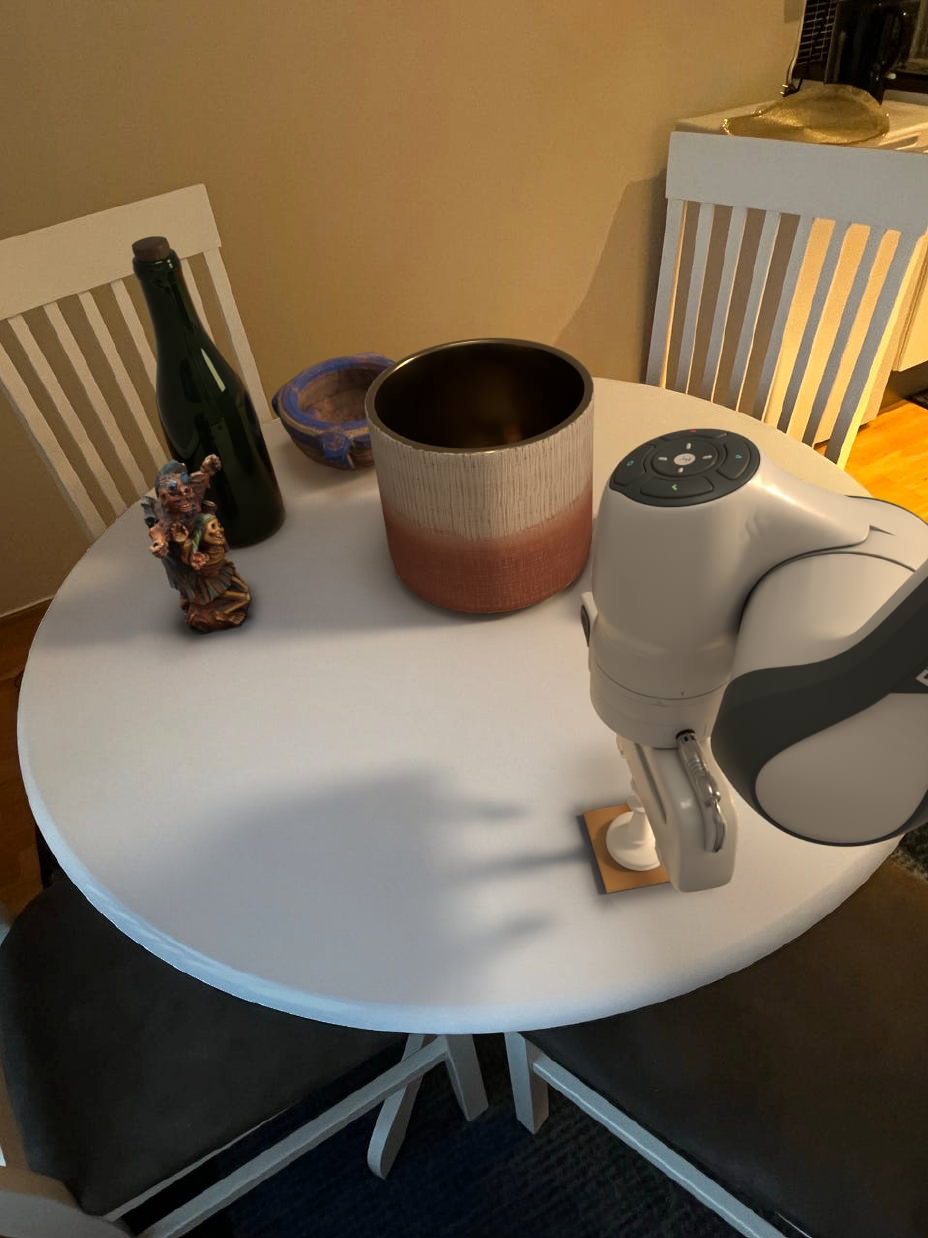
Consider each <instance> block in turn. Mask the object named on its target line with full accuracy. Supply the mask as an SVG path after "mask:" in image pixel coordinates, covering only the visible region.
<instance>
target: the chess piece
mask: <svg viewBox="0 0 928 1238" xmlns="http://www.w3.org/2000/svg"><path fill="white" fill-rule="evenodd" d="M630 788H631V790H632V792H631V794H630V795H629V796H628V798H627V804H628V805H629V807H630V809H631V810H632V812H627V813H624V814H621V815H620V816H618V817H617V818H615V819H614V820H613V822H612V823H611V824H610V826H609V829H608V831H607V835H606V845H607V849H608V851H609V853H610V855H611V856H612V857H613V859H614V860H615V861H616V862H618V863H619V864H620V865H622V866H624V867H626V868H628V869H632V870H637V871H646V870H651V869H654V868H656V867H658V866H659V865H660V863H659V860H658V857H657V854H656V851H655V837H654V835H653V832H652V829H651V826H650V824H649V821H648V818H647V815H646V813H645V810H644V807H643V804H642V802H641V799H640V796H639V793H638V791H637V788H636V785H635V782H634V780H633V777H632V776H631V779H630Z"/></svg>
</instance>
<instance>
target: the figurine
mask: <svg viewBox="0 0 928 1238" xmlns="http://www.w3.org/2000/svg"><path fill="white" fill-rule="evenodd" d="M200 469H201V471H198V472H195V473H192V474H191V475H190V476H189V477H188V474H187V469H186V465H184V463H182V464H181V463H178V462H177V461H175V460H174V459H172V458H171V459H170V460H169V461H168V460H166V463H164V464H162V468H159V471H158V473H156V476H155V481H154V492H155V495H156V498H155V497H152V496H149V495H143V496H142V497H141V501H140V507H141V508H143V512H144V518H143V521H144V524H145V525H146V526H147V530H148V537H149V538H150V539H151V541H152V544H151V545H150V546H149V548H148V550H149V551H150V552H151V554H152V555H153V557H154V558H157V559H159V560H160V562H161V564H162V565H163V568H165V573H166V576H167V579H168V583H169V586H170V588H171V589H173V590H176V592H177V591H178V592H179V600H180V604H179V607H180V609H181V611H182V612H183V613H184V617H185V620H184V623H186V624H187V626H188V628H189V629H190V630H191V631H192V632H193V633H194V634H197V635H205V634H208V633H212V632H214V631H226V630H227V631H228V630H231V629H236V628H240V627H242V626H243V623H245V621H246V620H247V618H248V617H247V614H248V611H249V605H250V602H251V600H252V599H253V598H252V595H250V593H251V592H250V589H249V586H248V585H247V582H246V581H245V579H244V578H243V577H242V576H241V574H240V573H239V572H238V571H237V568H236V566H235V564H234V561H233V560H232V559H230V558H226V554H227V553H229V552H230V546H228V544H227V542H226V539H225V537H224V529H223V527H220V523H218V519H217V518H216V515H215V513H216V509H217V508H216V507H217V506H216V504H214V503H213V502H209V501H205V500H204V501H203V498H204V492H205V490H206V489H207V488H208V489H209V488H210V485H209V477H211V476H213V475H214V474H215V473H216V472H217V470H219V471H220V469H221V461H220V460H219V458H218V457H217V456H215V455H214V454H213V455H210V456H208V457H206V459H205V461H204V462H203V463H202V466H201V468H200ZM202 501H203V502H202Z"/></svg>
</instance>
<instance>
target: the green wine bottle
mask: <svg viewBox="0 0 928 1238" xmlns="http://www.w3.org/2000/svg"><path fill="white" fill-rule="evenodd" d="M131 251H132V253H133V255H134V256H133V257H132V260H131V263H132V271H133V274H134V276H135V278H136V279H137V281H138V284H139V287H140V289H141V293H142V295H143V299H144V302H145V304H146V309H147V311H148V315H149V318H150V321H151V327H152V330H153V335H154V340H155V341H154V342H155V350H156V373H155V403H156V410H157V417H158V420H159V424H160V426H161V429H162V433H163V436H164V439H165V442H166V445H167V448H168V451H169V454H170V456H171V460H172V459H174V460H175V461H177V462H178V463H181V464H182V463H184V465H186V469H187V474H188V477H189V476H190V475H191V474H192V473H195V472H198V471H201V469H200V468H201V466H202V463H203V462H204V461H205V459H206V457H208V456H210V455H213V454H214V455H215V456H217V457H218V458H219V460H220V461H221V469H220V471H219V470H217V472H216V473H215V474H214V475H213V476H211V477H209V485H210V488H209V489H208V488H207V489H206V490H205V492H204V498H203V501H204V500H205V501H209V502H213V503H214V504H216V506H217V507H216V508H217V509H216V513H215V515H216V518H217V519H218V523H220V527H223V529H224V537H225V539H226V542H227V544H228V547H242V546H245V545H250V544H253V543H255V542H258V541H261V540H263V539H265V538H267V537H268V536H270V535H271V534H273V533H274V532H275V531H276V530H277V529H278V528H279V526H280V525H281V524H282V523H283V520H284V517H285V514H286V508H285V504H284V498H283V495H282V491H281V489H280V485H279V482H278V479H277V475H276V472H275V469H274V465H273V462H272V459H271V456H270V452H269V449H268V446H267V443H266V441H265V436H264V433H263V430H262V427H261V425H260V421H259V418H258V414H257V412H256V410H255V407H254V404H253V402H252V398H251V396H250V393H249V391H248V389H247V388H246V386H245V384H244V382H243V380H242V378H241V377H240V375H239V373H238V372H237V371H236V369H234V367H233V366H232V365H231V363H230V362H229V361H228V359H227V358H226V357H225V355H224V354H223V353H222V352H221V350H220V349H219V347H218V346H217V345H216V343H215V342H214V341H213V339H212V337H210V335H209V333H208V331H207V330H206V328H205V326H204V324H203V322H202V320H201V317H200V316H199V314H198V311H197V309H196V306H195V304H194V300H193V297H192V295H191V293H190V289H189V287H188V283H187V281H186V277H185V275H184V271H183V265H182V261H181V258H180V256H179V255H178V254H177V251H176V250H175V249H173V248H171V246H170V243H169V241H168V239H167V237H165V236H161V235H153V236H147V237H143V238H140V239H138V240H136V241H135V242H133V243H132V244H131ZM203 501H202V502H203Z"/></svg>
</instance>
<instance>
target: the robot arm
mask: <svg viewBox="0 0 928 1238" xmlns="http://www.w3.org/2000/svg"><path fill="white" fill-rule="evenodd" d="M599 500H600V501H599V504H598V510H597V515H596V520H595V529H594V536H593V545H592V546H593V548H592V562H591V591H587V592H583V593H580V595H579V600H578V610H579V611H578V613H579V618H580V623H581V627H582V629H583V634H584V636H585V641H586V647H587V648H588V650H587V651H588V652H587V653H588V655H587V656H588V657H587V661H588V662H587V667H588V671H589V698H590V701H591V705H592V707H593V709H594V711H595V713H596V715H597V716H598V718H599V720H601V722H602V723H603V724H605V726H607V728H609V730H611V731H612V732H613V733H615V734H616V736H615V743H616V746H617V749H618V752H619V754H620V756H621V758H622V759H623V760H626V763H627V766H628V768H629V771H630V774H631V778H632V777H633V780H634V782H635V785H636V788H637V791H638V793H639V796H640V799H641V802H642V804H643V807H644V810H645V813H646V815H647V818H648V821H649V824H650V826H651V829H652V832H653V835H654V837H655V851H656V854H657V857H658V860H659V863H660V866H661V868H664V869H666V871H667V873H668V876H669V879H670V882H669V883H670V884H671V885H672V886H673V888H674V889H676V890H677V891H679V892H682V893H696V892H703V891H708V890H712V889H717V888H720V887H723V886H726V885H728V884H729V883H731V881H732V880H733V878H734V875H735V871H736V870H735V869H736V864H737V863H736V862H737V856H738V848H739V847H738V846H739V836H740V835H739V832H740V824H739V823H740V821H739V814H738V809H737V808H738V807H737V803H736V800H735V798H734V795H733V792H732V790H731V787H730V785H731V786H732V788H733V789H734V790H735V792H736V793H737V794H738V795H739V797H740V798H741V799H742V800H743V801H744V802H745V803H746V804H747V805H748V806H749V807H750V808H751V809H752V810H753V811H754V812H755V813H756V814H758V815H759V816H760V817H761V818H762V819H764V820H765V821H766V822H767V823H769V824H770V825H772V826H773V827H774V828H776V829H777V830H779V831H781V832H782V833H785V834H786V835H788V836H791V837H793V838H795V839H799V840H801V841H804V842H806V843H807V842H808V843H811V844H816V845H821V846H827V847H835V848H855V847H866V846H871V845H875V844H879V843H883V842H887V841H889V840H892V839H895V838H898V837H900V836H902V835H906V834H908V833H909V832H912V831H913V830H916V829H917V828H919V827H921V826H923V825H925V824H926V823H928V522H927V521H926V520H925V519H923V518H922V517H921V516H919V515H918V514H916V513H915V512H913V511H911V510H909V509H908V508H907V507H904V506H901V505H899V504H896V503H894V502H891V501H887V500H885V499H880V498H876V497H869V496H860V495H848V494H847V495H846V494H841V493H838V492H835V491H832V490H829V489H827V488H824V487H821V486H818V485H817V484H814V483H812V482H809V481H807V480H805V479H802V477H799V476H797V475H795V474H793V473H792V472H790V471H788V470H786V469H785V468H783V467H782V466H781V465H779V464H778V463H776V461H775V460H774V459H772V457H770V456H769V455H768V454H767V452H766V451H765V450H764V449H763V448H762V447H761V446H760V445H759V444H758V443H757V442H755V441H754V440H752V439H751V438H749V437H747V436H744V435H743V434H740V433H737V432H735V431H734V432H733V431H730V430H726V429H721V428H705V427H704V428H703V427H702V428H688V429H681V430H676V431H672V432H668V433H665V434H662V435H659V436H657V437H656V436H655V437H654V438H652V439H649V440H647V441H645V442H644V443H641V444H640V445H639V446H637V447H635V448H634V449H632V450H631V451H630V452H628V454H626V456H624V457H623V458H622V459H621V460H620V461H619V463H617V465H616V466H615V468H614V469H613V471H612V472H611V474H610V475H609V476H608V479H607V481H606V482H605V485H604V486H603V490H602V493H601V496H600V499H599ZM709 738H710V739H709ZM728 782H729V783H728ZM729 784H730V785H729Z"/></svg>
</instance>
